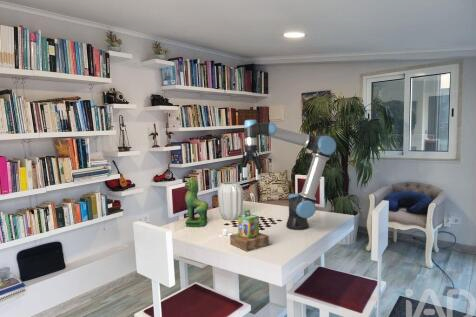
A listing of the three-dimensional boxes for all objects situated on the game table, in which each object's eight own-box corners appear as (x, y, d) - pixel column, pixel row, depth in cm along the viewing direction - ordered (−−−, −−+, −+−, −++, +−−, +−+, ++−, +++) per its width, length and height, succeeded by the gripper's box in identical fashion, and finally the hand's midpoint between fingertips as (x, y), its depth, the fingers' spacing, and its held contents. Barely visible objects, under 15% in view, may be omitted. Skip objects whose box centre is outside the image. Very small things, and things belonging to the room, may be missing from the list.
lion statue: (187, 222, 248) (186, 175, 246) (209, 222, 247) (208, 175, 244) (183, 227, 235) (181, 178, 232) (206, 227, 234) (205, 177, 231)
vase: (234, 222, 244) (234, 185, 242) (213, 219, 254) (212, 184, 252) (248, 216, 260) (247, 182, 258) (227, 214, 270) (226, 180, 268)
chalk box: (249, 239, 189) (249, 213, 187) (237, 236, 195) (237, 211, 193) (259, 235, 196) (259, 210, 194) (247, 232, 202) (247, 208, 200)
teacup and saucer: (234, 235, 214) (234, 229, 214) (226, 239, 208) (225, 232, 208) (225, 233, 220) (224, 227, 220) (216, 236, 214) (216, 230, 214)
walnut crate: (251, 239, 207) (251, 229, 207) (269, 246, 194) (269, 236, 193) (229, 244, 198) (229, 234, 197) (246, 252, 184) (246, 241, 184)
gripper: (234, 144, 216) (235, 177, 218) (258, 145, 196) (259, 181, 197) (243, 144, 220) (244, 176, 222) (268, 144, 200) (269, 179, 202)
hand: (251, 178), depth 210 cm, fingers open, 13 cm apart
